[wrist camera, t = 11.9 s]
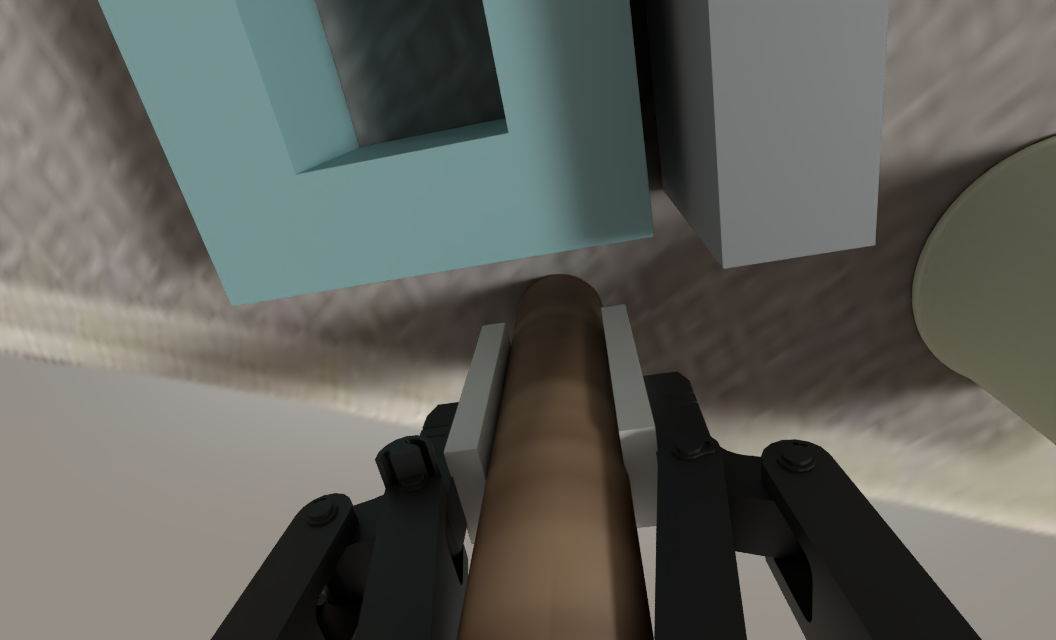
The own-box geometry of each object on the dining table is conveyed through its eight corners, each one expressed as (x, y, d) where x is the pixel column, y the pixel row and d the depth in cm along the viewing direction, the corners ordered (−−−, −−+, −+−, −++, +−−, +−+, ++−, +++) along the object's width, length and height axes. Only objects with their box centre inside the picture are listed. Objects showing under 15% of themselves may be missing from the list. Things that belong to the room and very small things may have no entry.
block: (157, -149, 16) (-4, -231, 12) (578, -269, 14) (585, -420, 10) (304, 252, 21) (231, 306, 16) (632, 194, 19) (654, 236, 15)
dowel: (510, 281, 21) (407, 702, 7) (597, 268, 20) (661, 687, 7) (526, 357, 22) (465, 836, 9) (608, 346, 22) (682, 830, 8)
